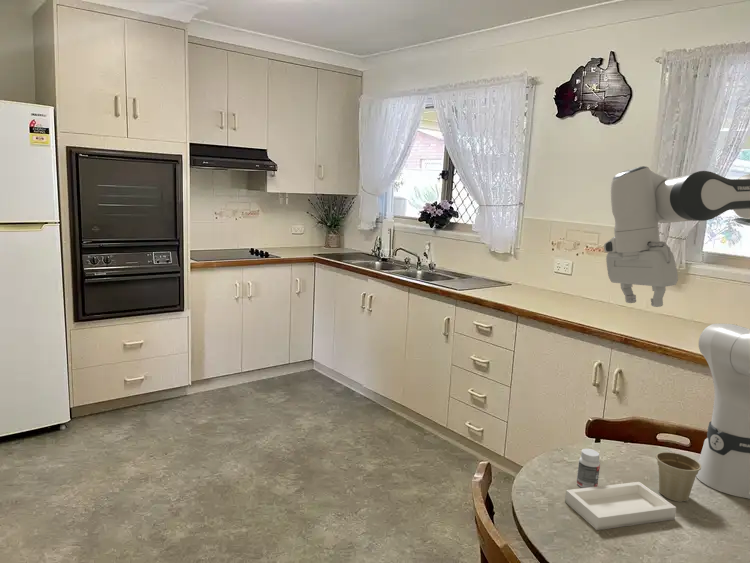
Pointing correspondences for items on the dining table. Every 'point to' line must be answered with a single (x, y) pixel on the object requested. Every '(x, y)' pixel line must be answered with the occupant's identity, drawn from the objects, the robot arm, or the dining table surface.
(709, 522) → the dining table surface
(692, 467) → the flower pot
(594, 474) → the pill bottle
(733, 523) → the dining table surface
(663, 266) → the robot arm
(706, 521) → the dining table surface
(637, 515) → the tray
